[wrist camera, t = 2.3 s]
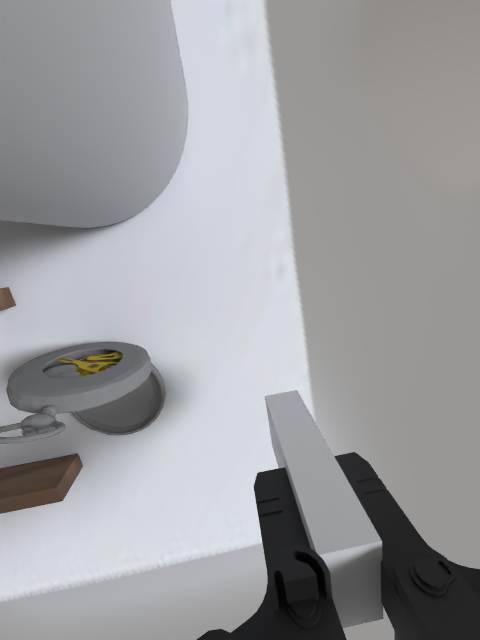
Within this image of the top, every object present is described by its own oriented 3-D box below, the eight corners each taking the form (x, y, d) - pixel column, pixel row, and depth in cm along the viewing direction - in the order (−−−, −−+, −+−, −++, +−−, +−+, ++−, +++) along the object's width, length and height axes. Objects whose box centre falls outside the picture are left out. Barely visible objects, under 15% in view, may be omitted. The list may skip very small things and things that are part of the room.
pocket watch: (114, 440, 21) (31, 609, 11) (32, 360, 18) (-163, 488, 9) (201, 385, 20) (190, 515, 11) (127, 294, 18) (28, 356, 8)
